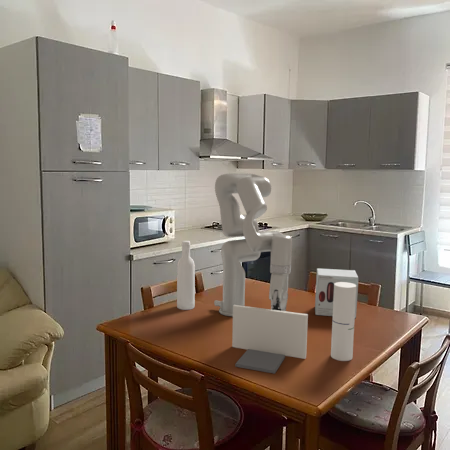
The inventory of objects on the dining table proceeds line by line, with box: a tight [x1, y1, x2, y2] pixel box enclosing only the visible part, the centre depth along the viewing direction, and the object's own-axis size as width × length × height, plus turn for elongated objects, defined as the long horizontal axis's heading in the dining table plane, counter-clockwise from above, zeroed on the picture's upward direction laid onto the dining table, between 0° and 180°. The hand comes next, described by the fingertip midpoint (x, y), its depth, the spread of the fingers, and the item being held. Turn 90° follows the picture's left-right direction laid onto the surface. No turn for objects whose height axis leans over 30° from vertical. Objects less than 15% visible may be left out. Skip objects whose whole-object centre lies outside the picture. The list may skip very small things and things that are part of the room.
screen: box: [231, 305, 309, 360], centre depth 162 cm, size 26×2×15 cm, turn 69°
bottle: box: [176, 240, 196, 311], centre depth 210 cm, size 8×8×30 cm
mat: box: [234, 349, 286, 374], centre depth 155 cm, size 13×13×1 cm
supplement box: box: [314, 267, 359, 319], centre depth 207 cm, size 17×13×18 cm
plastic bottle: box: [270, 290, 289, 311], centre depth 175 cm, size 6×7×20 cm
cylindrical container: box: [330, 282, 356, 362], centre depth 158 cm, size 7×7×25 cm
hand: (278, 315), depth 175 cm, fingers closed on plastic bottle, 5 cm apart
